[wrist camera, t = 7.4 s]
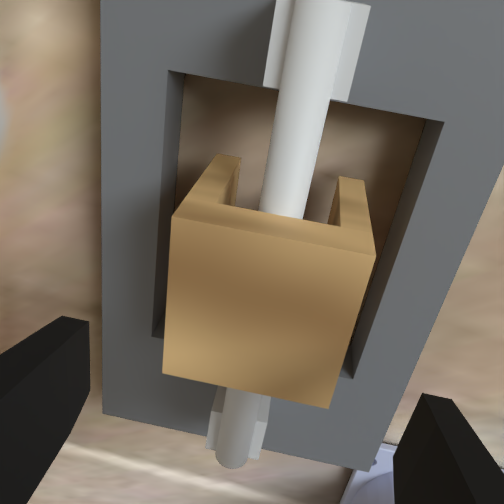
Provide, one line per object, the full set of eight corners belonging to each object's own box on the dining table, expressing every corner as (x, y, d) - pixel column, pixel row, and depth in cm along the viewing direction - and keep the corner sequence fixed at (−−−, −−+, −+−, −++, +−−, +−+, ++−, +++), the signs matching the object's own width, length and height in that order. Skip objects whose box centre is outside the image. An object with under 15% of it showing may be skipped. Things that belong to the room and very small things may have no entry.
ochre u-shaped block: (329, 306, 18) (328, 409, 13) (203, 280, 18) (162, 373, 14) (363, 180, 15) (376, 255, 11) (216, 153, 15) (171, 216, 11)
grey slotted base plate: (365, 435, 22) (375, 544, 18) (119, 381, 23) (69, 475, 18) (571, -71, 12) (706, -106, 8) (129, -145, 13) (28, -217, 9)
